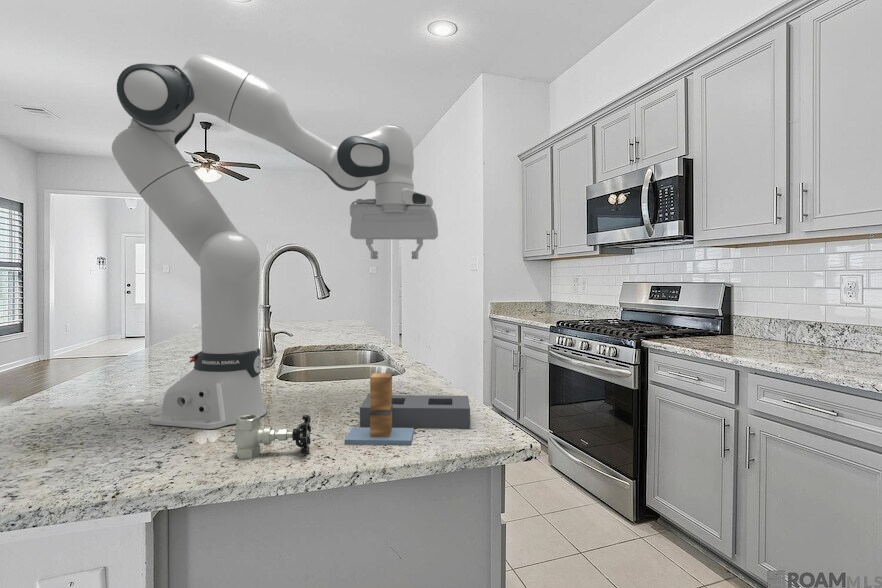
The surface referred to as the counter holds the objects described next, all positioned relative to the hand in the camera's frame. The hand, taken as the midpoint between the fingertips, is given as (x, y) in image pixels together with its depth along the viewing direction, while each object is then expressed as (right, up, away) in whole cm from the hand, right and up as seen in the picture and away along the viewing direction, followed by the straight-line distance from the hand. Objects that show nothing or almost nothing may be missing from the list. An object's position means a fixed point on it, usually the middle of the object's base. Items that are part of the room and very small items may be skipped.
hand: (394, 259), depth 111 cm
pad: (0, -35, -22) cm, 41 cm away
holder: (+6, -35, -11) cm, 37 cm away
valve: (-18, -36, -30) cm, 50 cm away
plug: (0, -34, -22) cm, 40 cm away
